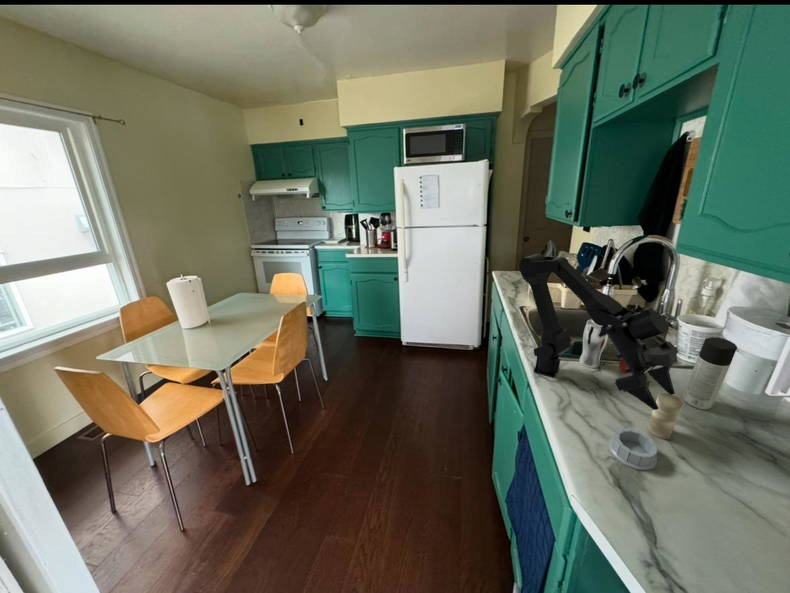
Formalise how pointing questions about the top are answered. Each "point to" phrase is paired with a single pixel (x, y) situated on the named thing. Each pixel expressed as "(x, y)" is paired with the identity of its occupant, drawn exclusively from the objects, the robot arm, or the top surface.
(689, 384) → the spray can
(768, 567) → the top surface
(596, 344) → the beer glass
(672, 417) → the birch plug
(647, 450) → the round socket
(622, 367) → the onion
